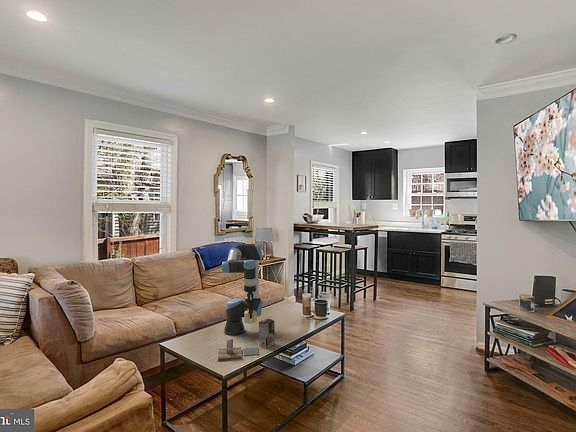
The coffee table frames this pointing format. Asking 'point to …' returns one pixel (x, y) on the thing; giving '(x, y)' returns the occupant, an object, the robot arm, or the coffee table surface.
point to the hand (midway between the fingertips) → (250, 321)
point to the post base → (229, 352)
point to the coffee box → (266, 333)
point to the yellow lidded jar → (246, 316)
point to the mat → (251, 351)
